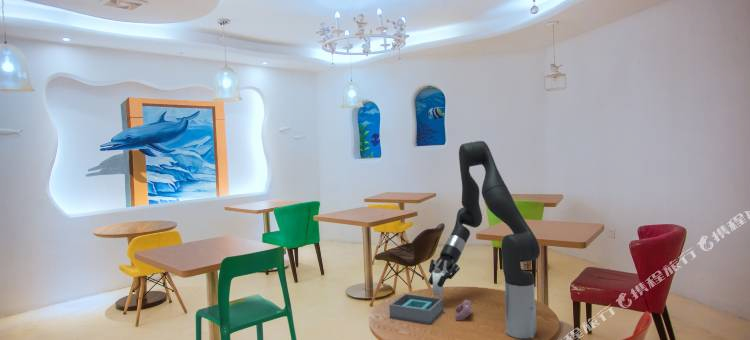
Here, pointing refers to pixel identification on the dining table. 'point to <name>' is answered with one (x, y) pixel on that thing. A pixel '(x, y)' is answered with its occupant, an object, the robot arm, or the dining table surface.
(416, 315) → the walled box
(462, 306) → the video game controller
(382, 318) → the dining table surface
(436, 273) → the plug
